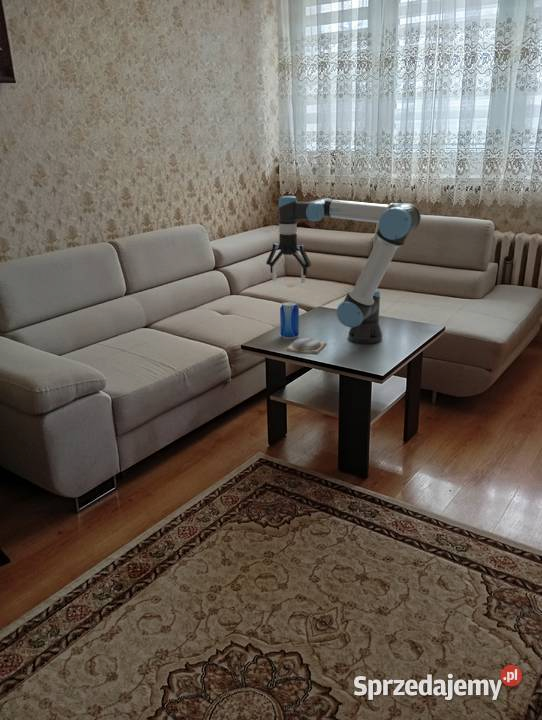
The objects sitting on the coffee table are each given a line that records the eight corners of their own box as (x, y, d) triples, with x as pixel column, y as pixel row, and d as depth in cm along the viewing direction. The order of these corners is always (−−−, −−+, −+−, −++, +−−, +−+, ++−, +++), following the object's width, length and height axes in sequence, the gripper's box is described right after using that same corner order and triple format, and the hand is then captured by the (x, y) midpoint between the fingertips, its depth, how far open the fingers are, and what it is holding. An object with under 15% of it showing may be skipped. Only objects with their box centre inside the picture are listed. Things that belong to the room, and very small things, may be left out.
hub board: (326, 344, 269) (326, 340, 268) (317, 353, 259) (317, 349, 258) (296, 341, 274) (296, 336, 274) (286, 350, 264) (286, 345, 263)
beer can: (297, 340, 275) (297, 306, 270) (279, 339, 277) (278, 305, 271) (300, 334, 283) (300, 301, 277) (282, 333, 285) (281, 300, 279)
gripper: (318, 232, 261) (318, 281, 269) (264, 230, 271) (266, 277, 278) (312, 235, 255) (312, 285, 263) (258, 233, 264) (259, 281, 272)
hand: (288, 281), depth 271 cm, fingers open, 13 cm apart
